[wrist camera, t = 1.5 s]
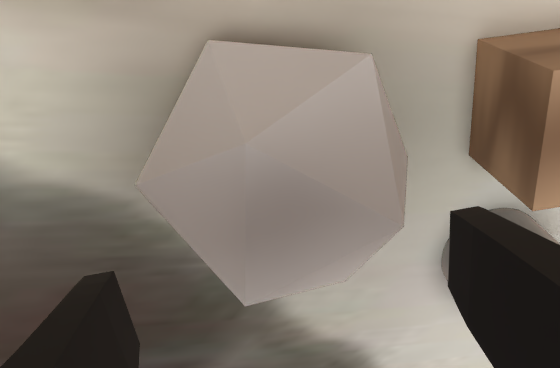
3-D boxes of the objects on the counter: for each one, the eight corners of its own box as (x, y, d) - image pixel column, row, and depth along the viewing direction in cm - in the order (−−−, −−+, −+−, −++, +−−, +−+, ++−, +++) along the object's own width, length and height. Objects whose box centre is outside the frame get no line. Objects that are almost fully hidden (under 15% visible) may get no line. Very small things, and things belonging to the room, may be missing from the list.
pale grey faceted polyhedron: (162, 3, 18) (38, 237, 13) (397, -57, 14) (344, 243, 10) (257, 140, 24) (196, 336, 19) (442, 125, 20) (423, 366, 16)
